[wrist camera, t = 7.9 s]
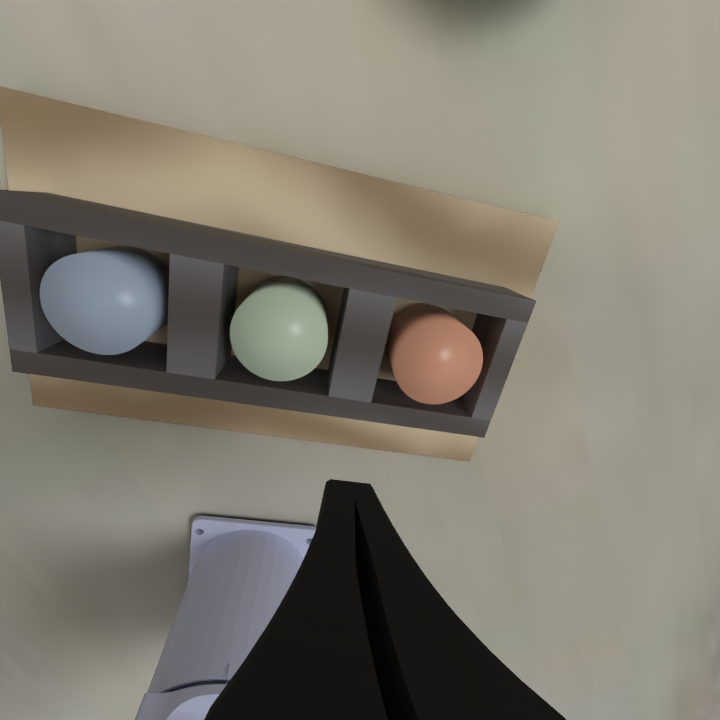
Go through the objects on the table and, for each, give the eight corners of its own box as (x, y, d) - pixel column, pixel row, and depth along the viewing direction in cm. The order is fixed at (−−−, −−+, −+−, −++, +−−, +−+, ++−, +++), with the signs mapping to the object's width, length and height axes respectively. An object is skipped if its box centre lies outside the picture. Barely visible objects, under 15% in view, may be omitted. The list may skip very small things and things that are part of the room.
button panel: (463, 451, 24) (489, 496, 20) (46, 396, 20) (-17, 438, 17) (547, 221, 19) (601, 224, 15) (16, 93, 15) (-82, 56, 12)
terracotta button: (448, 382, 20) (467, 410, 18) (376, 371, 20) (384, 397, 17) (470, 312, 19) (495, 329, 16) (394, 297, 18) (406, 313, 16)
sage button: (320, 361, 19) (319, 387, 17) (240, 349, 19) (225, 373, 16) (334, 285, 18) (335, 299, 15) (248, 269, 17) (234, 280, 15)
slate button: (177, 339, 18) (151, 362, 16) (88, 324, 18) (44, 346, 15) (181, 255, 17) (152, 265, 14) (84, 237, 16) (34, 242, 14)
